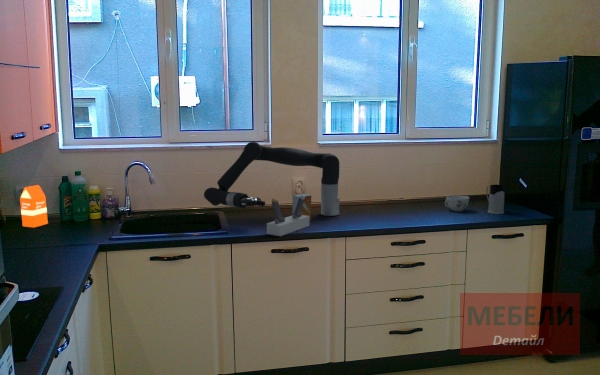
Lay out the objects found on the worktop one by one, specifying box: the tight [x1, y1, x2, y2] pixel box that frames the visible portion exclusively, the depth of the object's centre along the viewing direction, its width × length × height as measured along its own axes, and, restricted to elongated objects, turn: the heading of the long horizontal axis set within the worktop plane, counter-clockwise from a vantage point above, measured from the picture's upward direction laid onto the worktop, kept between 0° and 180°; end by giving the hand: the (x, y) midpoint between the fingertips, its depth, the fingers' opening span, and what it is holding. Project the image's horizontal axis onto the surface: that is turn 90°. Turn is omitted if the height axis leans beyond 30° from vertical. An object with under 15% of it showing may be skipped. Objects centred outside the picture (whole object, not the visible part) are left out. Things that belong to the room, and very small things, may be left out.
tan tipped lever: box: [271, 197, 284, 222], centre depth 247 cm, size 3×4×12 cm
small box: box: [291, 193, 312, 221], centre depth 274 cm, size 8×6×13 cm
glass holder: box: [485, 184, 506, 215], centre depth 292 cm, size 9×14×15 cm, turn 14°
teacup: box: [444, 194, 471, 212], centre depth 294 cm, size 15×12×8 cm
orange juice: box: [19, 184, 49, 228], centre depth 263 cm, size 8×9×20 cm
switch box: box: [266, 212, 310, 237], centre depth 253 cm, size 8×24×7 cm, turn 145°
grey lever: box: [294, 195, 305, 217], centre depth 256 cm, size 3×4×12 cm
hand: (264, 203), depth 251 cm, fingers closed
